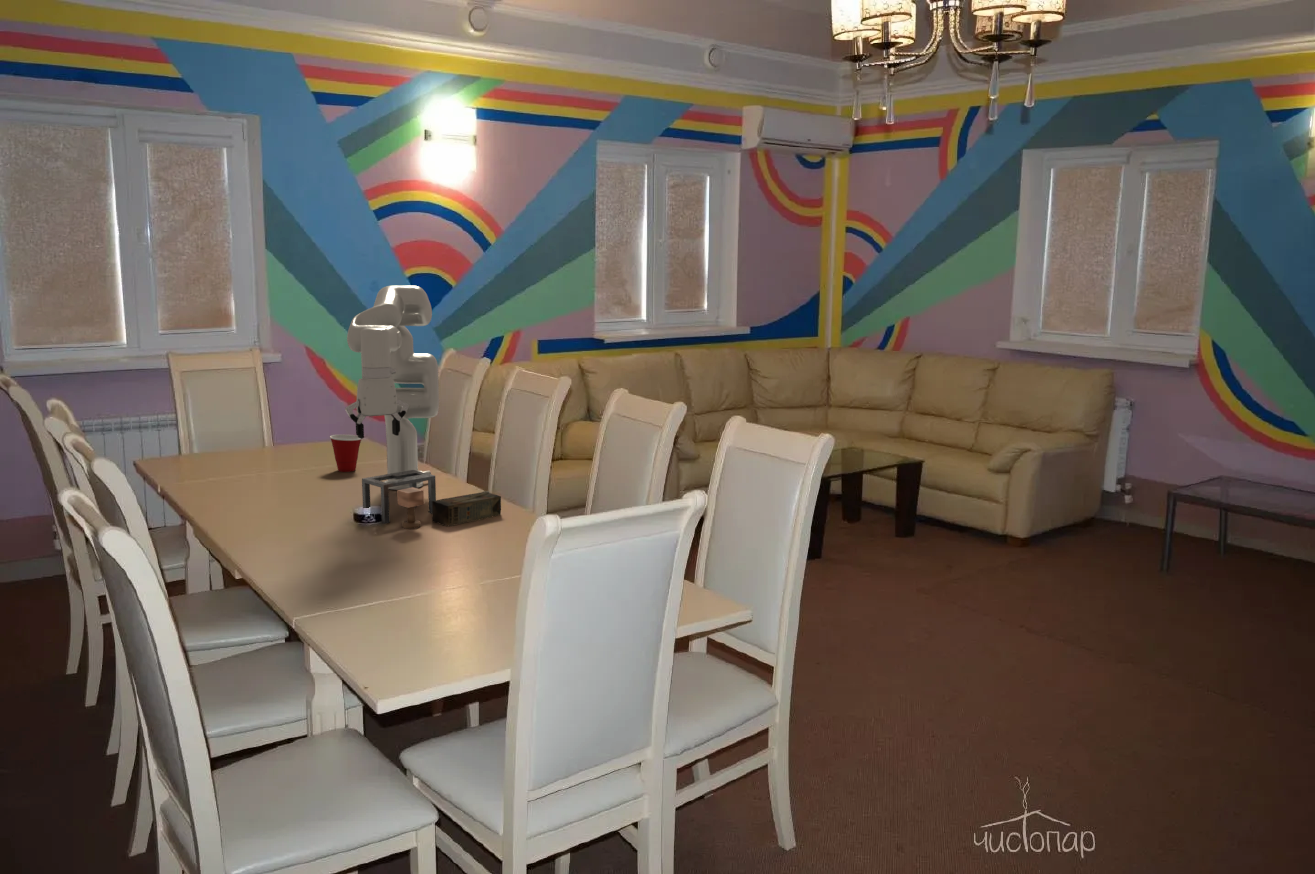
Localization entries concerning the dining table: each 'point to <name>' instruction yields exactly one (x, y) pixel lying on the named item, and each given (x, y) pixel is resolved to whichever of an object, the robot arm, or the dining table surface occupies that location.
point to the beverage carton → (466, 508)
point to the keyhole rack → (407, 478)
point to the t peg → (410, 505)
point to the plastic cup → (346, 451)
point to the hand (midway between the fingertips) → (378, 436)
